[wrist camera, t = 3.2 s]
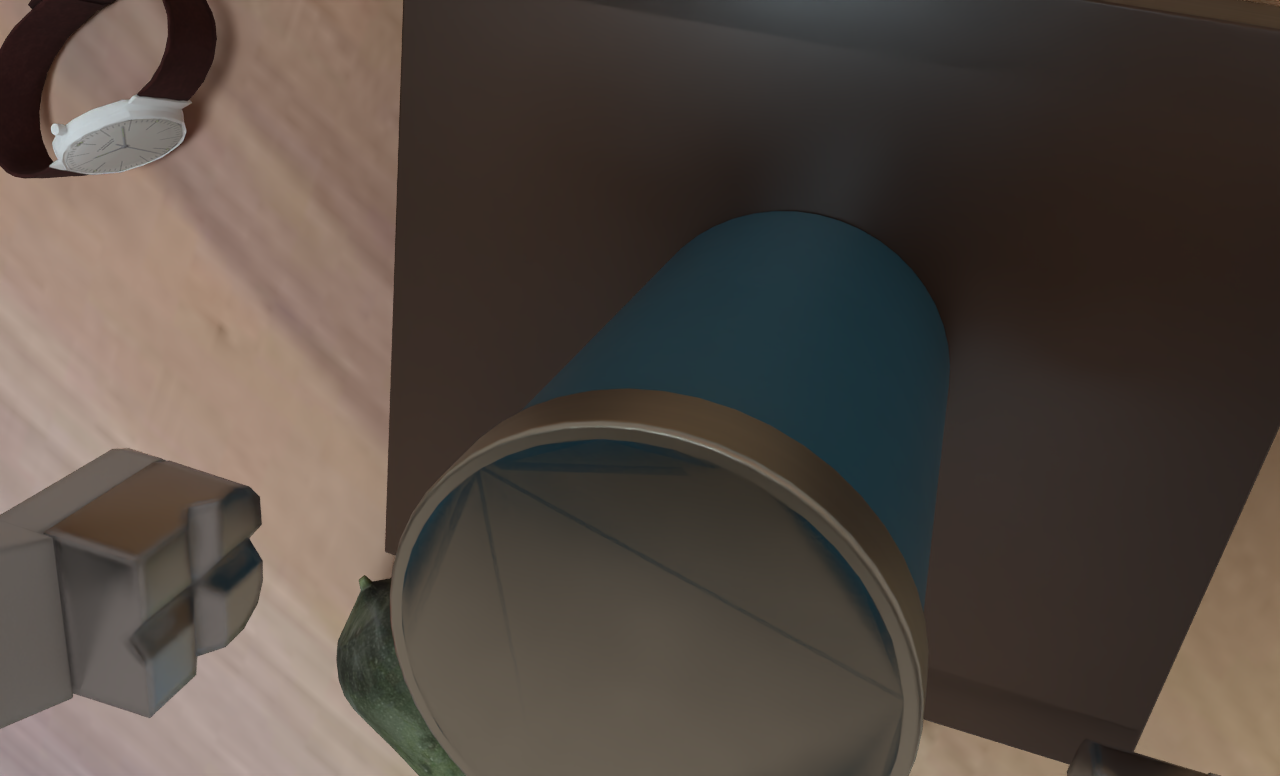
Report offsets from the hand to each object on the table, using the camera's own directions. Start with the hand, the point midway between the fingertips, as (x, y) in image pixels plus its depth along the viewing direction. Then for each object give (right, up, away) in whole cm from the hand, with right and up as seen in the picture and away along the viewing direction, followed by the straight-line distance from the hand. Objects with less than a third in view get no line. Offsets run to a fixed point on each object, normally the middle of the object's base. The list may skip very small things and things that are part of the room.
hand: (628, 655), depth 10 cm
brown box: (+5, +6, +15) cm, 17 cm away
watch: (-14, +11, +19) cm, 26 cm away
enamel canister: (+2, +3, +7) cm, 8 cm away
